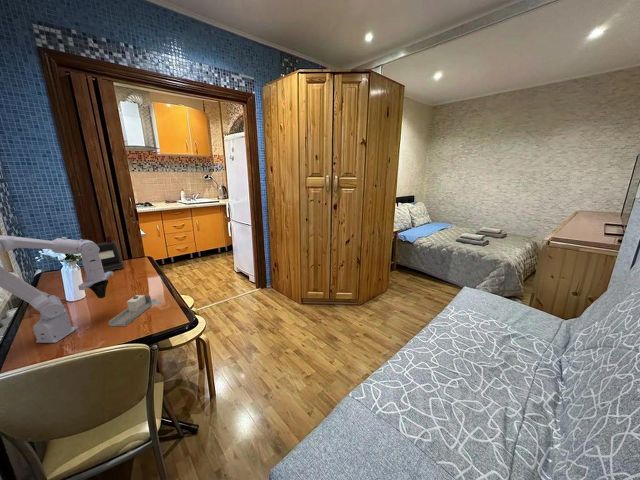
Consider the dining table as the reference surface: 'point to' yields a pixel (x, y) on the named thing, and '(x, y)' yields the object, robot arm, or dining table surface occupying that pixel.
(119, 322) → the rail
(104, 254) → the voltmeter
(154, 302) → the mounting bracket
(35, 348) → the dining table surface
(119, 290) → the dining table surface
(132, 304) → the module
